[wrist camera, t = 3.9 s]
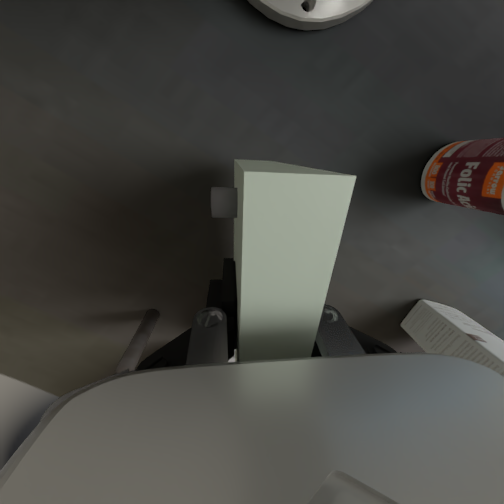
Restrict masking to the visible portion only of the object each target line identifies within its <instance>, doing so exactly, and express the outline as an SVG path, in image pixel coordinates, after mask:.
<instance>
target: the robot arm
mask: <svg viewBox="0 0 504 504" xmlns="http://www.w3.org/2000/svg"><path fill="white" fill-rule="evenodd" d="M372 1H373V0H248V2H249V3H250V4H251V5H253V6H254V7H255V8H256V9H258V10H259V11H260V12H261V13H263V14H264V15H265V16H266V17H268V18H269V19H271V20H274V21H276V22H278V23H280V24H282V25H284V26H286V27H290V28H296V29H301V30H318V29H326V28H329V27H332V26H335V25H338V24H341V23H343V22H345V21H347V20H348V19H350V18H352V17H353V16H355V15H356V14H358V13H360V12H361V11H362V10H363V9H365V8H366V7H367V6H368V5H369V4H370V3H371V2H372ZM302 7H305V8H306V10H307V12H306V11H304V10H303V8H302ZM234 349H237V283H236V263H235V261H233V258H224V266H223V280H210V285H209V292H208V298H207V305H206V308H204V309H201V310H200V311H198V312H197V313H196V314H195V316H194V318H193V324H192V327H191V328H190V329H188V330H187V331H185V332H184V333H183V334H181V335H180V336H178V337H177V338H175V339H174V340H172V341H171V342H169V343H168V344H166V345H165V346H163V347H162V348H160V349H159V350H157V351H156V352H154V353H153V354H151V355H150V356H149V357H147V358H146V359H145V360H143V361H142V362H141V363H140V365H139V366H138V367H137V369H135V370H132V371H130V370H129V369H127V370H124V371H122V372H119V373H116V374H114V375H111V376H109V377H106V378H104V379H101V380H99V381H96V382H94V383H91V384H89V385H86V386H84V387H81V388H79V389H76V390H74V391H71V392H69V393H67V394H65V395H63V396H61V397H60V398H58V400H56V401H55V402H54V403H52V404H51V405H50V406H49V407H48V409H47V410H46V411H45V412H44V414H43V416H42V418H41V420H40V423H39V424H38V426H37V427H36V428H35V429H34V430H33V431H32V432H31V434H30V435H29V436H28V437H27V439H26V440H25V441H24V442H23V443H22V445H21V446H20V447H19V448H18V449H17V451H16V452H15V453H14V454H13V456H12V457H11V458H10V460H9V461H8V462H7V464H6V465H5V466H4V467H3V469H2V470H1V471H0V504H504V377H503V376H502V375H500V374H499V373H497V372H495V371H494V370H492V369H490V368H488V367H486V366H483V365H481V364H478V363H475V362H472V361H470V360H466V359H462V358H458V357H454V356H449V355H443V354H437V353H422V352H418V353H402V352H400V353H397V352H396V351H395V350H393V349H392V348H391V347H389V346H388V345H386V344H384V343H382V342H380V341H378V340H376V339H374V338H372V337H370V336H368V335H366V334H364V333H362V332H359V331H357V330H355V329H353V328H351V327H349V326H348V325H347V323H346V322H345V320H344V319H343V317H342V315H341V314H340V313H339V311H338V310H336V309H335V308H334V307H332V306H330V305H326V304H324V307H323V311H322V314H321V318H320V322H319V326H318V330H317V334H316V338H315V342H314V346H313V350H312V354H311V357H306V358H289V359H273V360H257V361H242V362H228V361H229V360H230V359H231V358H232V357H233V356H234Z"/></svg>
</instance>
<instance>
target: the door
mask: <svg viewBox="0 0 504 504" xmlns="http://www.w3.org/2000/svg"><path fill="white" fill-rule="evenodd" d="M355 180H356V176H354V175H348V174H342V173H337V172H331V171H325V170H320V169H314V168H308V167H303V166H297V165H291V164H285V163H280V162H274V161H261V160H239V159H234V188H231V187H212V188H211V212H212V217H214V218H234V261H235V263H236V283H237V349H234V356H233V357H232V358H231V359H230V360H229V361H228V362H242V361H257V360H273V359H289V358H306V357H311V354H312V350H313V346H314V342H315V338H316V334H317V330H318V326H319V322H320V318H321V314H322V311H323V307H324V303H325V299H326V295H327V291H328V287H329V283H330V279H331V275H332V271H333V267H334V263H335V259H336V255H337V251H338V247H339V243H340V239H341V235H342V231H343V228H344V224H345V220H346V216H347V212H348V208H349V204H350V200H351V196H352V192H353V188H354V184H355Z"/></svg>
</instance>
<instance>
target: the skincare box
mask: <svg viewBox="0 0 504 504" xmlns="http://www.w3.org/2000/svg"><path fill="white" fill-rule="evenodd" d="M400 326H401V327H402V328H403V329H404V330H405V331H406V332H407V333H408V334H409V335H410V336H411V337H412V338H413V339H414V340H415V341H416V342H417V343H418V344H419V345H420V346H421V347H422V348H423V349H424V350H425V351H426V352H427V353H437V354H443V355H449V356H454V357H458V358H462V359H466V360H470V361H472V362H475V363H478V364H481V365H483V366H486V367H488V368H490V369H492V370H494V371H495V372H497V373H499V374H500V375H502V376H503V377H504V341H503V340H501V339H500V338H498V337H497V336H495V335H494V334H492V333H491V332H490V331H488V330H487V329H485V328H484V327H482V326H481V325H479V324H478V323H476V322H475V321H473V320H472V319H471V318H469V317H468V316H466V315H465V314H463V313H462V312H460V311H458V310H457V309H455V308H452V307H449V306H446V305H443V304H440V303H436V302H432V301H428V300H424V299H422V300H419V301H418V302H417V304H416V305H415V306H414V307H413V308H412V309H411V311H410V312H409V313H408V314H407V316H406V317H405V318H404V320H403V321H402V323H401V325H400Z"/></svg>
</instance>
